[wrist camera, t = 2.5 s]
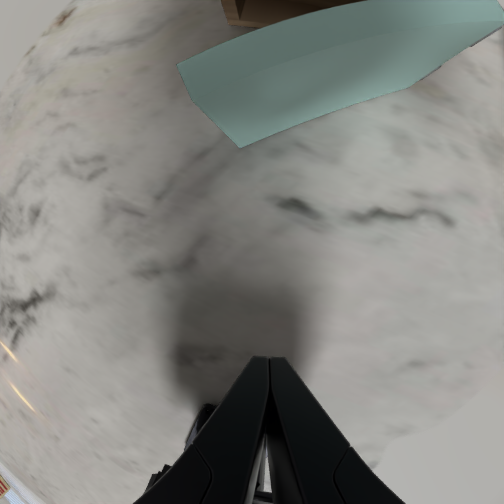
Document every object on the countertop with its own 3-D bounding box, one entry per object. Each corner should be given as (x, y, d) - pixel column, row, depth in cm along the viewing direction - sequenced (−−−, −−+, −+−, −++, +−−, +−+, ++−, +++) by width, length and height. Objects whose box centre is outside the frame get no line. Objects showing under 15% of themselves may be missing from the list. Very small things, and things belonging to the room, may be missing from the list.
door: (420, 84, 16) (524, 20, 5) (240, 148, 18) (192, 101, 7) (412, 68, 16) (507, -6, 5) (231, 130, 17) (175, 64, 7)
